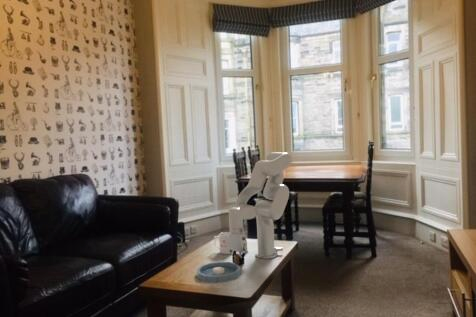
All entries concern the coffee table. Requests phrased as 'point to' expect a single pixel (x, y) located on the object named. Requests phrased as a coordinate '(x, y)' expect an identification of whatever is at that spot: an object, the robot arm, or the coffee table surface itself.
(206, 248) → the coffee table surface
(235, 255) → the walnut bead
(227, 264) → the ring tray
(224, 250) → the mug
